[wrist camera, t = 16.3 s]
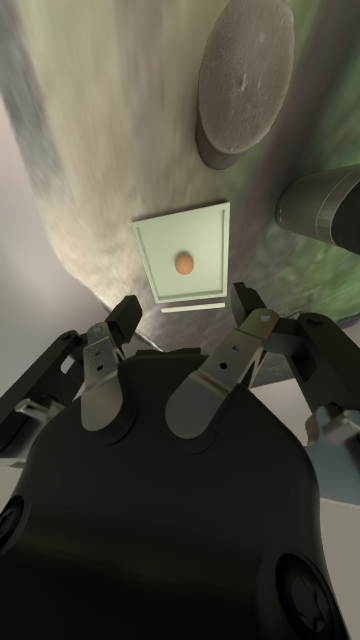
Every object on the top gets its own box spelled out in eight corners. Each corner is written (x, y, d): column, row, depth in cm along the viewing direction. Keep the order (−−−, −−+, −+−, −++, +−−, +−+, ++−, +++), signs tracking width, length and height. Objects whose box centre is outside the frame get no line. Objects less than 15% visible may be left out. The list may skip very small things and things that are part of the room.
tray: (227, 202, 32) (229, 202, 29) (224, 291, 45) (226, 296, 43) (134, 221, 35) (130, 223, 33) (158, 298, 49) (156, 303, 47)
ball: (193, 250, 38) (192, 256, 34) (195, 269, 41) (194, 276, 37) (174, 253, 38) (171, 259, 35) (177, 271, 42) (175, 279, 38)
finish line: (224, 302, 48) (224, 302, 48) (224, 306, 49) (224, 306, 49) (161, 308, 52) (160, 308, 51) (162, 312, 53) (162, 312, 52)
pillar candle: (184, 141, 27) (178, 99, 15) (225, 57, 21) (260, -105, 10) (221, 183, 30) (239, 175, 19) (265, 119, 25) (326, 53, 13)
